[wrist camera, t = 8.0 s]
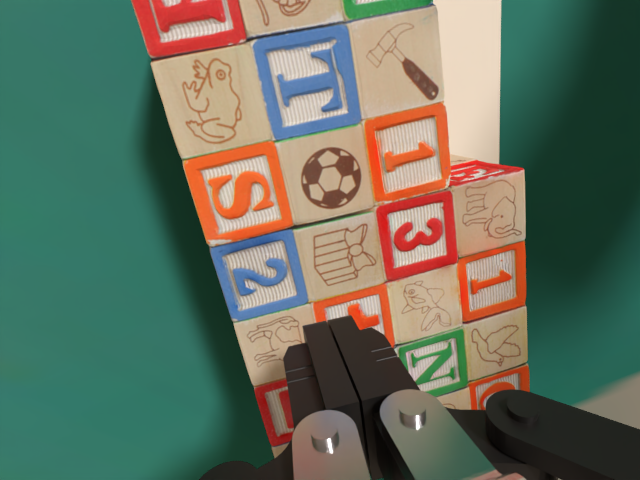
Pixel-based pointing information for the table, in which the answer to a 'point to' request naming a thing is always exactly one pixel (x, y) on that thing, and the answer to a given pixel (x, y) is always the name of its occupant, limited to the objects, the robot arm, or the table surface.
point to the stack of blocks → (342, 189)
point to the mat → (471, 75)
